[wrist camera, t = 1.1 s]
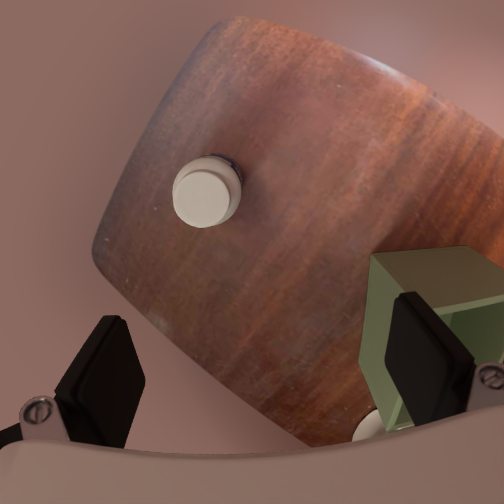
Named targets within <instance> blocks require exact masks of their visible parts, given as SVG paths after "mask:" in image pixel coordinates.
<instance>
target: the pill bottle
mask: <svg viewBox="0 0 504 504" xmlns="http://www.w3.org/2000/svg"><path fill="white" fill-rule="evenodd" d="M241 193H242V174H241V171H240V169H239V167H238V165H237V164H236V163H235V162H234V161H233V160H232V159H231V158H229V157H227V156H225V155H222V154H208V155H204V156H202V157H200V158H197V159H195V160H193V161H191V162H189V163H188V164H186V165H185V166H184V167H183V168H182V169H181V170H180V171H179V173H178V174H177V176H176V178H175V181H174V184H173V205H174V208H175V211H176V213H177V214H178V216H179V217H180V218H181V219H182V220H183V221H184V222H185V223H187V224H189V225H191V226H194V227H199V228H205V227H210V226H214V225H218V224H220V223H222V222H224V221H226V220H227V219H229V218H230V217H231V216H232V215H233V214H234V212H235V211H236V209H237V207H238V205H239V203H240V199H241Z"/></svg>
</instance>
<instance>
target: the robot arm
mask: <svg viewBox="0 0 504 504" xmlns="http://www.w3.org/2000/svg"><path fill="white" fill-rule="evenodd" d="M474 360H475V358H474V357H473V355H472V354H471V353H470V352H469V351H468V349H467V348H466V347H465V346H464V345H463V343H462V342H461V341H460V340H459V339H458V338H457V336H456V335H455V334H454V333H453V332H452V331H451V329H450V328H449V327H448V326H447V325H446V324H445V323H444V321H443V320H442V319H441V318H440V317H439V316H438V315H437V314H436V313H435V311H434V310H433V309H432V308H431V307H430V306H429V305H428V304H427V303H426V302H425V300H424V299H423V298H422V297H421V296H420V295H419V294H418V293H417V292H416V291H411V292H404V293H400V294H399V296H398V298H395V300H394V305H393V312H392V318H391V324H390V330H389V336H388V342H387V347H386V352H385V358H384V362H385V367H386V369H387V371H388V373H389V375H390V377H391V379H392V381H393V382H394V384H395V386H396V388H397V390H398V392H399V394H400V396H401V398H402V400H403V403H404V405H405V407H406V409H407V411H408V413H409V415H410V417H411V419H412V421H413V423H414V425H415V427H413V428H410V429H406V430H402V431H398V432H394V433H390V434H386V435H382V436H377V437H373V438H368V439H363V440H358V441H353V442H348V443H342V444H336V445H329V446H323V447H316V448H308V449H300V450H291V451H280V452H267V453H250V454H179V453H178V454H177V453H161V452H149V451H139V450H130V449H124V447H125V443H126V440H127V437H128V434H129V431H130V428H131V425H132V422H133V419H134V416H135V413H136V410H137V407H138V404H139V401H140V398H141V395H142V393H143V390H144V387H145V376H144V373H143V370H142V367H141V365H140V362H139V359H138V356H137V353H136V351H135V348H134V345H133V342H132V339H131V336H130V333H129V329H128V326H127V323H126V321H125V320H124V319H121V317H120V316H118V315H107V316H106V315H105V316H103V317H102V318H101V320H100V321H99V323H98V324H97V326H96V327H95V329H94V330H93V331H92V333H91V334H90V336H89V337H88V339H87V340H86V342H85V343H84V345H83V346H82V348H81V349H80V351H79V353H78V354H77V355H76V357H75V359H74V360H73V362H72V363H71V365H70V366H69V368H68V370H67V371H66V373H65V374H64V376H63V377H62V379H61V381H60V382H59V384H58V385H57V387H56V389H55V390H54V391H55V393H56V395H55V397H54V399H53V398H51V397H48V396H38V397H34V398H32V399H30V400H29V401H27V403H25V404H24V406H23V407H22V408H21V410H20V413H19V420H20V422H19V423H17V424H15V425H13V426H11V427H8V428H6V429H4V430H1V431H0V504H504V365H502V364H500V363H497V362H491V361H489V362H484V363H481V364H479V365H478V366H477V365H476V364H475V363H474Z"/></svg>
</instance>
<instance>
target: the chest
mask: <svg viewBox="0 0 504 504" xmlns="http://www.w3.org/2000/svg"><path fill="white" fill-rule="evenodd" d="M411 291H416V292H417V293H418V294H419V295H420V296H421V297H422V298H423V299H424V300H425V302H426V303H427V304H428V305H429V306H430V307H431V308H432V309H433V310H434V311H435V313H436V314H437V315H438V316H439V317H440V318H441V319H442V320H443V321H444V323H445V324H446V325H447V326H448V327H449V328H450V329H451V331H452V332H453V333H454V334H455V335H456V336H457V338H458V339H459V340H460V341H461V342H462V343H463V345H464V346H465V347H466V348H467V349H468V351H469V352H470V353H471V354H472V355H473V357H474V358H475V360H474V363H475V364H476V365H477V366H478V365H479V364H481V363H484V362H489V361H491V362H497V363H500V364H502V362H503V360H504V270H503V269H502V268H500V267H499V266H497V265H496V264H494V263H493V262H492V261H490V260H489V259H487V258H486V257H484V256H483V255H481V254H480V253H478V252H477V251H475V250H474V249H472V248H470V247H469V246H467V245H466V246H455V247H443V248H431V249H419V250H407V251H395V252H382V253H371V255H370V268H369V280H368V290H367V300H366V309H365V317H364V325H363V333H362V340H361V347H360V353H359V360H358V363H359V365H360V368H361V370H362V373H363V375H364V377H365V380H366V382H367V385H368V387H369V389H370V392H371V394H372V397H373V399H374V402H375V404H376V407H377V409H378V412H379V414H380V417H381V419H382V422H383V425H384V427H385V430H386V431H389V430H393V429H397V428H401V427H405V426H409V425H413V424H414V423H413V421H412V419H411V417H410V415H409V413H408V411H407V409H406V407H405V405H404V403H403V400H402V398H401V396H400V394H399V392H398V390H397V388H396V386H395V384H394V382H393V381H392V379H391V377H390V375H389V373H388V371H387V369H386V367H385V362H384V358H385V352H386V347H387V342H388V336H389V330H390V324H391V318H392V312H393V305H394V300H395V298H398V296H399V294H400V293H404V292H411Z"/></svg>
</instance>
